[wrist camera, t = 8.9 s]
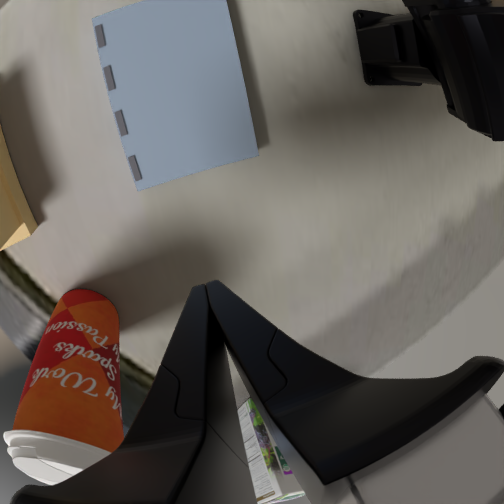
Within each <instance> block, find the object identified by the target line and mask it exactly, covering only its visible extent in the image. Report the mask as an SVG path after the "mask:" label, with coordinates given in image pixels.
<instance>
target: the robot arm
mask: <svg viewBox="0 0 504 504" xmlns="http://www.w3.org/2000/svg"><path fill="white" fill-rule="evenodd" d="M402 1H403V3H404V5H405V7H407V8H408V9H409V11H410V13H406V14H400V15H391V14H385V13H379V12H373V11H366V10H356V11H354V12H353V18H354V22H355V27H356V33H357V39H358V44H359V50H360V56H361V60H362V67H363V74H364V80H365V82H366V84H368V85H410V86H421V85H422V83H427V84H434V85H442V88H443V91H444V95H445V98H446V101H447V108H448V112H449V113H450V114H452V115H454V116H455V117H457V118H459V119H460V120H462V121H463V122H465V123H467V126H468V127H469V128H470V129H472V130H474V131H477V132H479V133H482V134H483V135H485V136H488V137H490V138H492V140H493V141H504V0H402ZM359 14H360V15H361V18H360V17H359ZM370 77H371V78H372V81H370ZM224 342H225V343H224ZM225 345H226V346H225ZM226 347H227V350H228V352H229V354H230V356H231V358H232V360H233V362H234V364H235V366H236V369H237V371H238V373H239V375H240V377H241V379H242V381H243V383H244V385H245V387H246V389H247V391H248V392H249V394H250V396H251V398H252V400H253V402H254V404H255V406H256V408H257V410H258V412H259V414H260V415H261V417H262V419H263V421H264V423H265V425H266V427H267V429H268V430H269V432H270V434H271V436H272V438H273V439H274V441H275V443H276V445H277V447H278V448H279V450H280V452H281V454H282V455H283V457H284V459H285V461H286V462H287V464H288V466H289V468H290V469H291V471H292V473H293V474H294V476H295V478H296V479H297V481H298V483H299V484H300V486H301V488H302V489H303V491H304V492H305V494H306V496H307V497H308V499H309V500H310V502H311V504H504V404H503V405H502V406H501V407H500V409H499V410H498V408H497V407H496V406H495V404H494V403H493V402H492V401H491V400H490V398H489V397H488V395H487V393H488V391H489V390H490V389H491V388H492V386H493V385H494V384H495V383H496V381H497V380H498V379H499V378H500V376H501V375H502V373H503V372H504V361H503V360H501V359H499V358H495V357H489V356H475V357H473V358H471V359H470V360H468V361H467V362H465V363H464V364H463V365H462V366H460V367H459V368H458V369H456V370H455V371H453V372H451V373H449V374H446V375H443V376H440V377H435V378H419V379H379V378H367V377H363V376H359V375H356V374H354V373H352V372H350V371H348V370H346V369H344V368H342V367H340V366H338V365H336V364H334V363H332V362H331V361H329V360H327V359H325V358H323V357H321V356H319V355H318V354H316V353H314V352H312V351H311V350H309V349H307V348H306V347H304V346H302V345H300V344H299V343H298V342H296V341H295V340H293V339H292V338H291V337H289V336H288V335H286V334H285V333H284V332H283V331H281V330H280V329H278V328H277V327H276V326H275V325H273V324H272V323H271V322H270V321H268V320H267V319H266V318H265V317H263V316H262V315H261V314H260V313H258V312H257V311H256V310H255V309H253V308H252V307H251V306H250V305H248V304H247V303H246V302H245V301H243V300H242V299H241V298H240V297H238V296H237V295H236V294H235V293H234V292H232V291H231V290H230V289H229V288H227V287H226V286H225V285H224V284H223V283H221V282H220V281H219V280H214V281H211V282H208V283H206V285H205V284H201V285H198V286H195V287H193V288H192V290H191V292H190V295H189V297H188V299H187V301H186V304H185V306H184V308H183V311H182V313H181V316H180V318H179V320H178V323H177V325H176V327H175V330H174V332H173V335H172V337H171V340H170V342H169V344H168V347H167V349H166V352H165V354H164V357H163V359H162V362H161V365H160V366H159V369H158V371H157V374H156V376H155V379H154V381H153V383H152V386H151V388H150V390H149V392H148V394H147V396H146V398H145V400H144V402H143V404H142V406H141V408H140V410H139V412H138V413H137V415H136V417H135V419H134V421H133V423H132V425H131V427H130V429H129V431H128V433H127V434H126V436H125V438H124V440H123V441H122V443H121V444H120V445H119V446H118V448H117V449H116V450H115V451H113V452H112V453H111V454H109V455H108V456H106V457H105V458H103V459H101V460H100V461H98V462H96V463H95V464H93V465H91V466H89V467H88V468H86V469H84V470H82V471H81V472H79V473H77V474H75V475H74V476H72V477H70V478H68V479H66V480H64V481H62V482H60V483H57V484H54V485H50V486H38V485H25V486H24V487H22V488H21V489H20V490H18V491H17V492H16V493H15V494H14V496H13V497H12V499H11V501H10V504H258V503H257V499H256V495H255V491H254V486H253V482H252V477H251V473H250V469H249V464H248V460H247V455H246V450H245V446H244V441H243V436H242V431H241V426H240V421H239V416H238V411H237V406H236V401H235V395H234V390H233V384H232V379H231V373H230V368H229V362H228V356H227V351H226Z"/></svg>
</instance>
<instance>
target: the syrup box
mask: <svg viewBox="0 0 504 504" xmlns="http://www.w3.org/2000/svg"><path fill="white" fill-rule="evenodd" d="M237 411H238V416H239V421H240V426H241V431H242V436H243V441H244V446H245V450H246V455H247V460H248V464H249V469H250V473H251V477H252V482H253V486H254V491H255V495H256V499H257V503H258V504H271V503H276V502H281V501H285V500H290V499H294V498H298V497H301V496H303V495H305V492H304V491H303V489H302V488H301V486H300V484H299V483H298V481H297V479H296V478H295V476H294V474H293V473H292V471H291V469H290V468H289V466H288V464H287V462H286V461H285V459H284V457H283V455H282V454H281V452H280V450H279V448H278V447H277V445H276V443H275V441H274V439H273V438H272V436H271V434H270V432H269V430H268V429H267V427H266V425H265V423H264V421H263V419H262V417H261V415H260V414H259V412H258V410H257V408H256V406H255V404H254V402H253V400H252V398H249V399H248V400H247V401H246V402H245V403H244V404H243V405H242V406H241V407H240V408H239V409H238V410H237Z"/></svg>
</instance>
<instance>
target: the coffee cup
mask: <svg viewBox="0 0 504 504" xmlns="http://www.w3.org/2000/svg"><path fill="white" fill-rule="evenodd" d="M4 440H5V442H6V443H7V444H8V446H9V447H8V449H7V451H8V453H9V454H10V456H11V457H12V458H13V463H14V465H15V466H16V467H17V468H19V469H20V470H21V471H23V472H24V473H26V474H27V475H29V476H31V477H33V478H35V479H37V480H39V481H41V482H44V483H46V484H49V485H54V484H57V483H60V482H62V481H64V480H66V479H68V478H70V477H72V476H74V475H75V474H77V473H79V472H81V471H82V470H84V469H86V468H88V467H89V466H91V465H93V464H95V463H96V462H98V461H100V460H101V459H103V458H105V457H106V456H108V455H109V454H111V453H112V452H113V451H115V450H116V449H117V448H118V446H119V445H120V444H121V443H122V441H123V440H124V434H123V423H122V411H121V394H120V366H119V317H118V313H117V310H116V308H115V307H114V305H113V304H112V303H111V302H110V301H109V300H108V299H107V298H106V297H104V296H103V295H101V294H99V293H97V292H95V291H92V290H87V289H75V290H71V291H69V292H67V293H65V294H64V295H63V296H62V297H61V299H60V300H59V302H58V304H57V305H56V307H55V309H54V311H53V313H52V316H51V318H50V320H49V322H48V324H47V327H46V329H45V331H44V334H43V336H42V339H41V341H40V344H39V346H38V349H37V351H36V354H35V357H34V359H33V362H32V365H31V368H30V370H29V374H28V376H27V380H26V383H25V386H24V389H23V392H22V396H21V399H20V403H19V406H18V410H17V413H16V417H15V422H14V425H13V430H12V431H6V432H4Z"/></svg>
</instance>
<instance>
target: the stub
mask: <svg viewBox="0 0 504 504" xmlns="http://www.w3.org/2000/svg"><path fill="white" fill-rule="evenodd" d="M37 227H38V226H37V224H36V221H35V219H34V217H33V215H32V213H31V210H30V208H29V206H28V203H27V201H26V199H25V196H24V194H23V191H22V189H21V186H20V184H19V181H18V178H17V176H16V173H15V170H14V167H13V164H12V161H11V158H10V155H9V152H8V149H7V146H6V142H5V139H4V136H3V132H2V128H1V125H0V251H1V250H3V249H5V248H7V247H9V246H11V245H13V244H15V243H17V242H19V241H21V240H23V239H25V238H27V237H29V236H31V235H32V233H33V232H34V231H35V230H36V228H37Z"/></svg>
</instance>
